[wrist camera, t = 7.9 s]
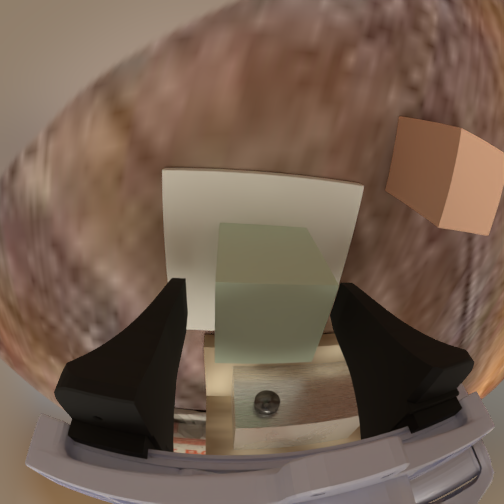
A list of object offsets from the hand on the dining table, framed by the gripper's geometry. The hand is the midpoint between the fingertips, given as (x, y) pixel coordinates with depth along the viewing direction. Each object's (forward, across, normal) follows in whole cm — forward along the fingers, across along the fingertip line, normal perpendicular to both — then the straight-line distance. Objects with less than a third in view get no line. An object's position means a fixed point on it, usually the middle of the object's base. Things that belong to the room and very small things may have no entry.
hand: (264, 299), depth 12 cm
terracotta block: (+3, -9, -7) cm, 12 cm away
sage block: (+3, 0, 0) cm, 3 cm away
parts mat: (+3, 0, 0) cm, 3 cm away
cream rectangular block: (+2, -4, +10) cm, 11 cm away
